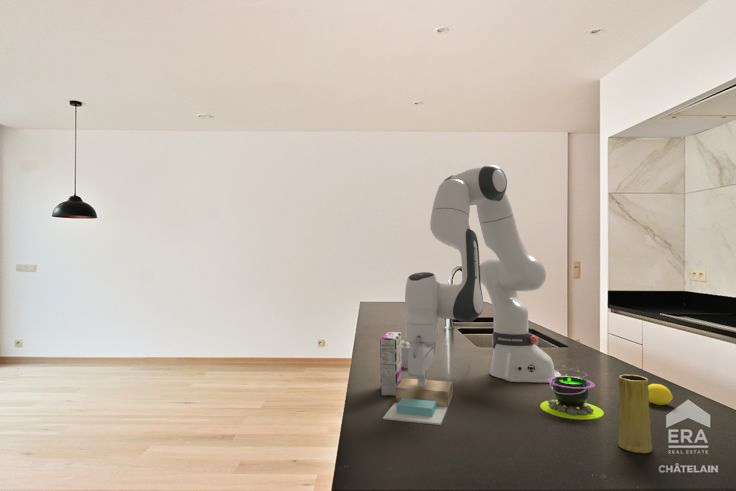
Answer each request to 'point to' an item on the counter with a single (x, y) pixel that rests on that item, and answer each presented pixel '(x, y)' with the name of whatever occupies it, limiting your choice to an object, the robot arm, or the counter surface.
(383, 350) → the candy bar box
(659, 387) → the lemon
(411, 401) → the teal rectangular block
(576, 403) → the toy cauldron
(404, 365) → the lumpy-topped squat cylinder
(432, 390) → the wooden block
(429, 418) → the mat
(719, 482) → the counter surface
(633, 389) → the vase
